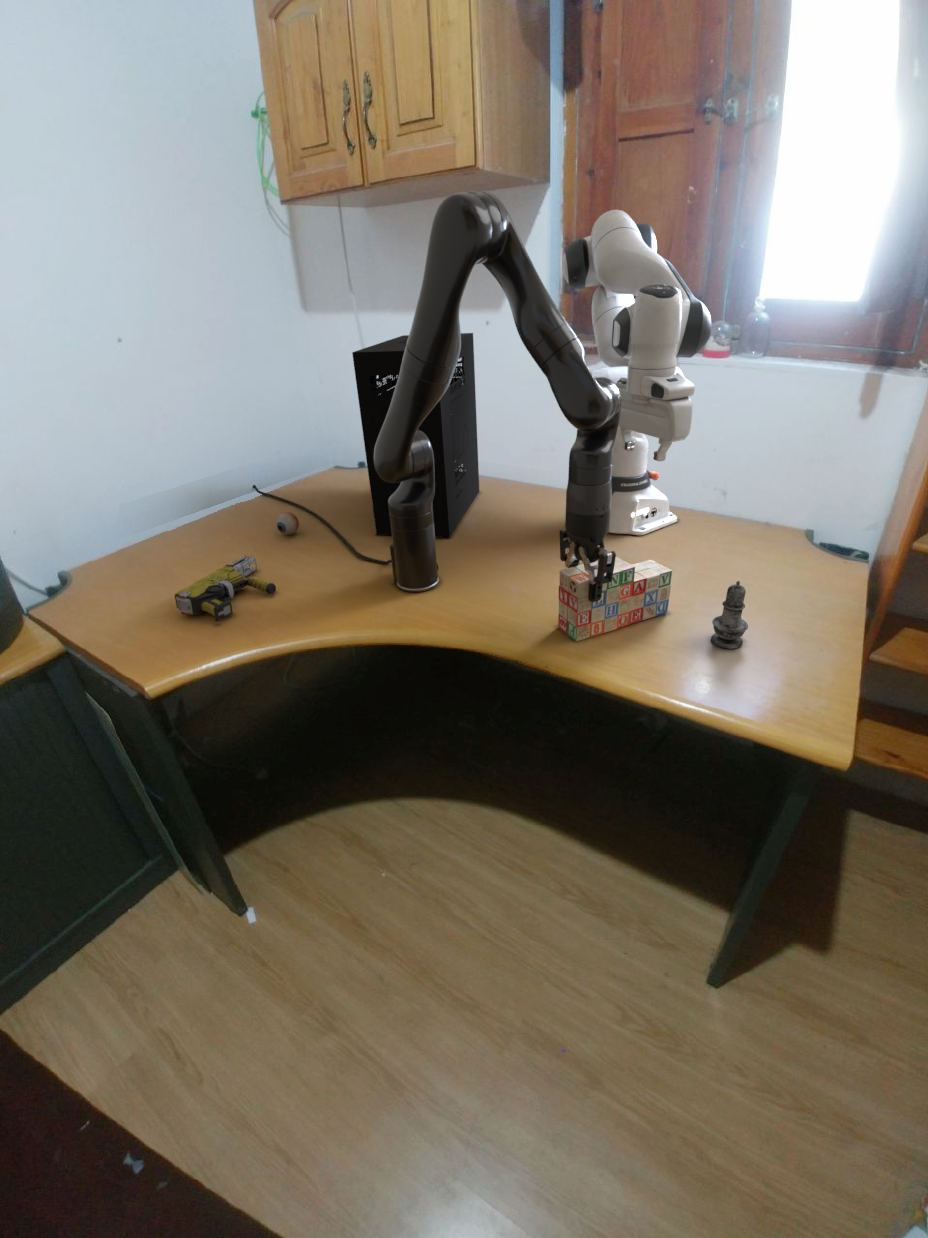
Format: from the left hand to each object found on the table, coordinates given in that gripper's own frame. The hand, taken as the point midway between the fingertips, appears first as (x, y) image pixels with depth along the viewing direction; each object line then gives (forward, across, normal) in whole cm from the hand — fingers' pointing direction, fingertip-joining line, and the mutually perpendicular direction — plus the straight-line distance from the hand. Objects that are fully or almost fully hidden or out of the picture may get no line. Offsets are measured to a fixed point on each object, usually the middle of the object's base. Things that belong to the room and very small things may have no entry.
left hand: (583, 592), depth 110 cm
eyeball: (+8, -81, -40) cm, 91 cm away
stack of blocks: (+8, 0, +7) cm, 11 cm away
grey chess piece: (+8, +16, +20) cm, 27 cm away
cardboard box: (+8, -76, 0) cm, 76 cm away
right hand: (-18, -15, +24) cm, 34 cm away
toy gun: (+8, -49, -57) cm, 76 cm away
